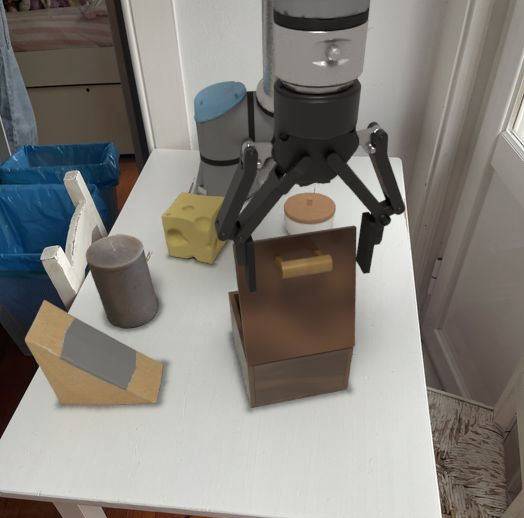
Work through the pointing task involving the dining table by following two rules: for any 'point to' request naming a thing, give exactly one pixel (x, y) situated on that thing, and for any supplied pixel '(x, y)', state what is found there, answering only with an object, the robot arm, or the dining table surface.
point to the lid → (300, 295)
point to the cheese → (193, 227)
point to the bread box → (289, 370)
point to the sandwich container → (90, 362)
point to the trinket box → (308, 213)
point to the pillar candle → (122, 280)
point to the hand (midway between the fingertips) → (307, 275)
